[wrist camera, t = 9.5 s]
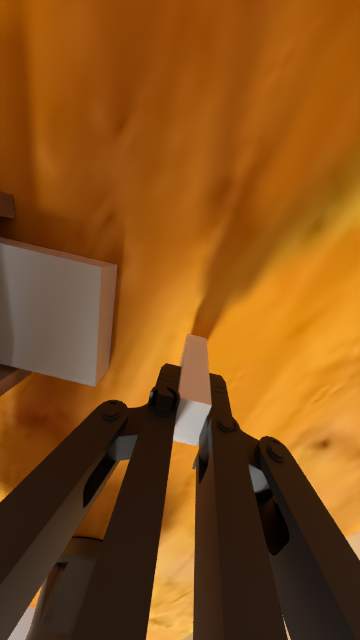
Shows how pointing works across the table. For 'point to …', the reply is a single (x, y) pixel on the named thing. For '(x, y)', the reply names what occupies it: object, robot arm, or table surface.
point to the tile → (55, 312)
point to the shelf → (3, 375)
